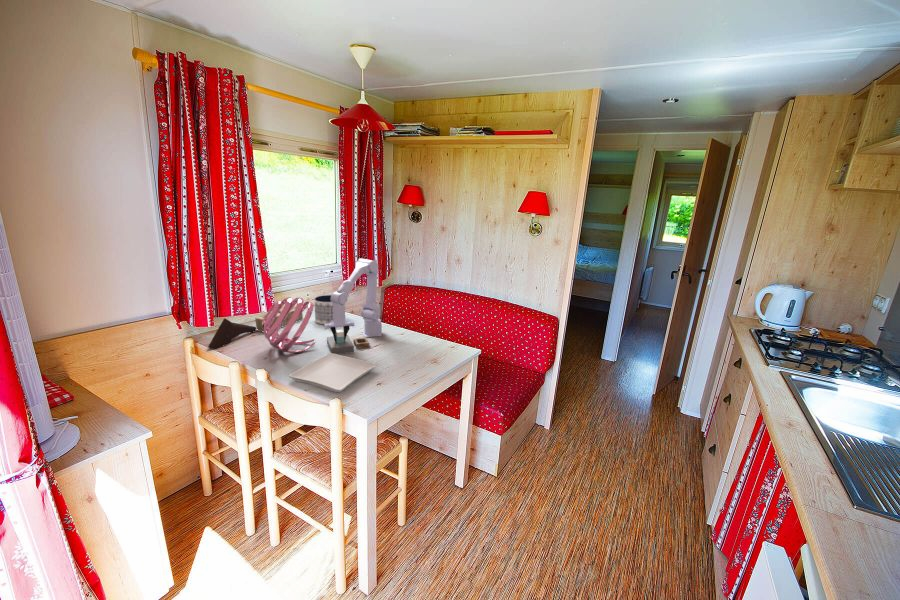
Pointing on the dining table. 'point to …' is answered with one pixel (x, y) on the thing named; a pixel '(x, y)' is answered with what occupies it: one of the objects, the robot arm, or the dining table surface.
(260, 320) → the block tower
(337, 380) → the square plate
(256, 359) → the dining table surface
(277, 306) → the spiral basket
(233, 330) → the holster
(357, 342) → the plug holster
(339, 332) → the plug
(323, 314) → the planter
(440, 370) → the dining table surface
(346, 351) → the port block
